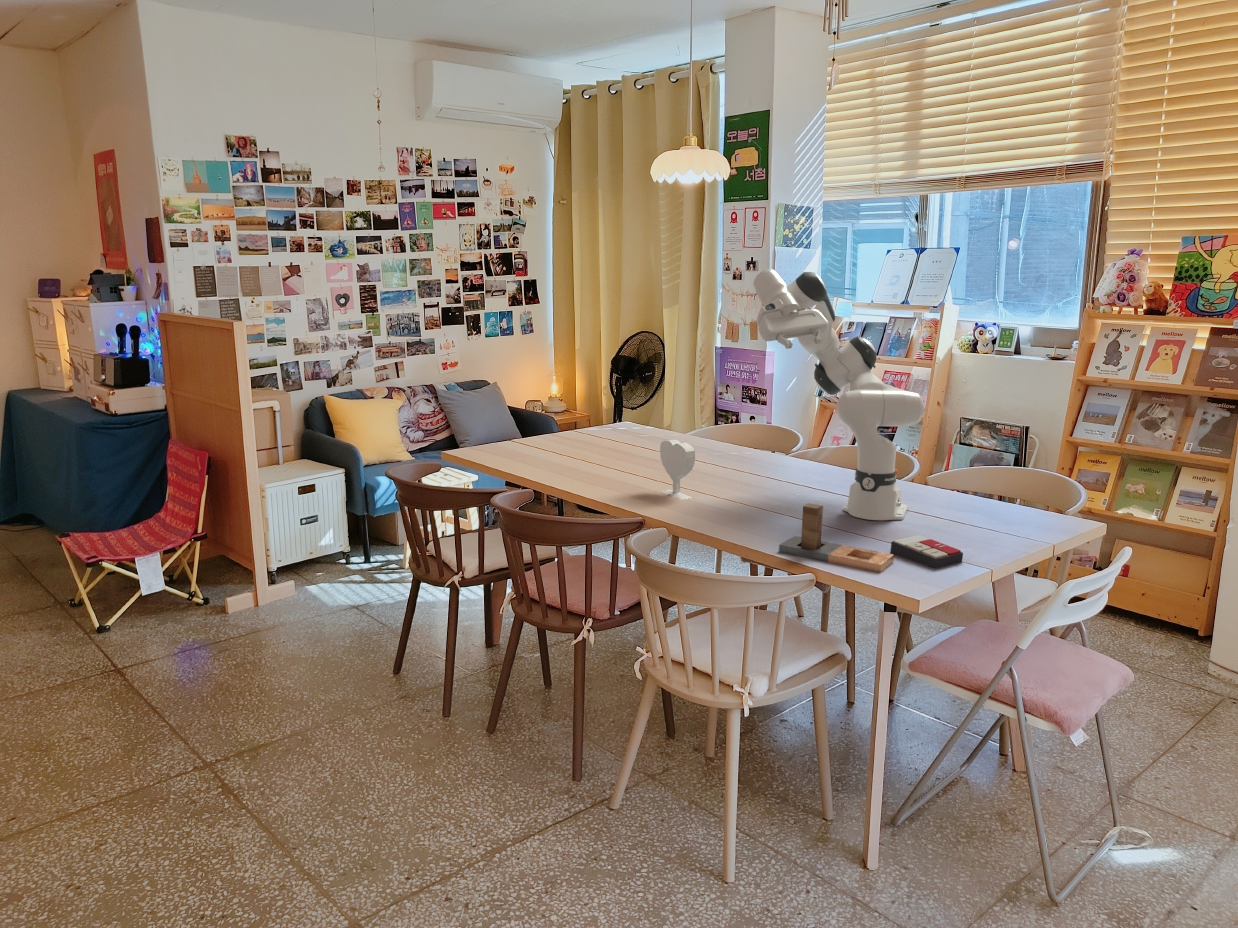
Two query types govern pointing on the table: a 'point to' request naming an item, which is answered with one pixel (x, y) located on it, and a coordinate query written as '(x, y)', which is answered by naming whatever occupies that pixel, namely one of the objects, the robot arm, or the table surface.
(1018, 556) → the table surface
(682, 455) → the heart sculpture
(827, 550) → the peg board
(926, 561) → the calculator
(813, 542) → the walnut peg
